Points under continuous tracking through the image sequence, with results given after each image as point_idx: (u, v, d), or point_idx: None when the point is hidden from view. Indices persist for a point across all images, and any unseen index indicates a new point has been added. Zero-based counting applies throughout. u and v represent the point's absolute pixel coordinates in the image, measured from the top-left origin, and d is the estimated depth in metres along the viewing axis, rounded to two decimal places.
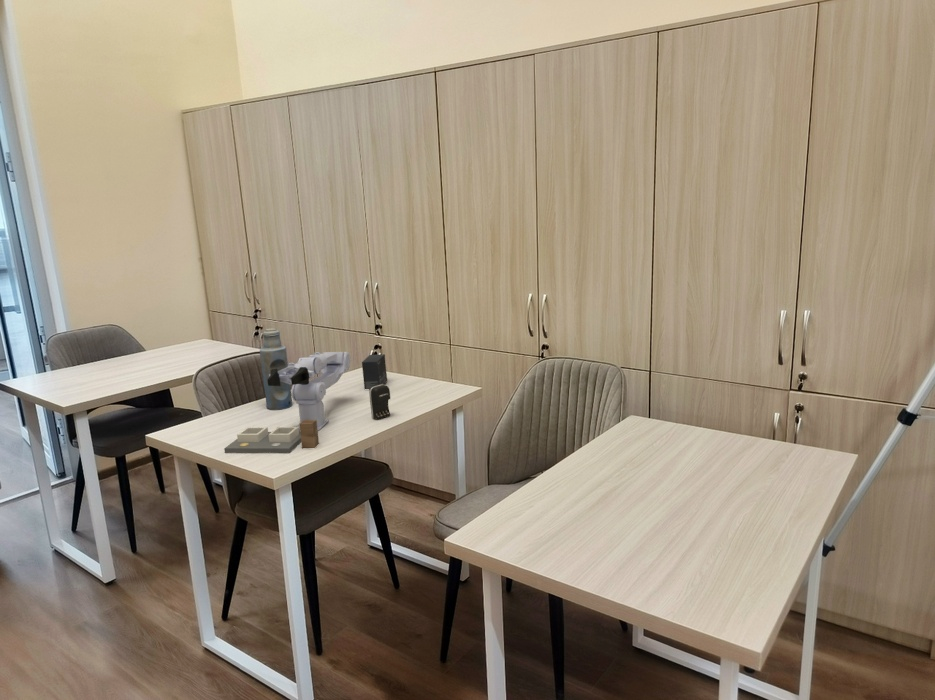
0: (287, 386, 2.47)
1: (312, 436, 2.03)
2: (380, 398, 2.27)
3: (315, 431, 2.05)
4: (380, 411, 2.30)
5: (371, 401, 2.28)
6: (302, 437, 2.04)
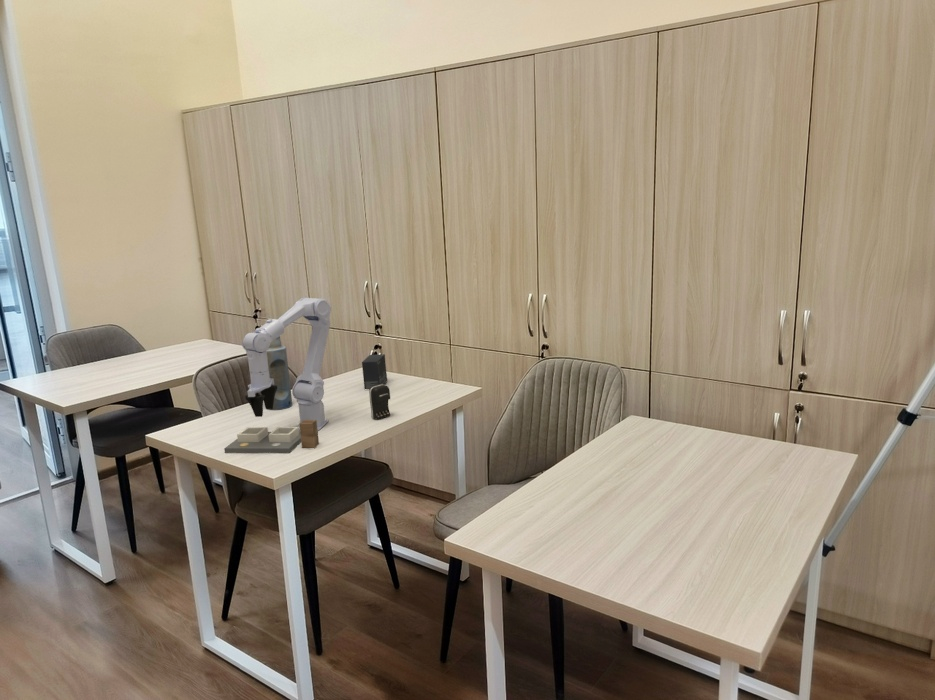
0: (287, 386, 2.47)
1: (312, 436, 2.03)
2: (380, 398, 2.27)
3: (314, 431, 2.05)
4: (380, 411, 2.30)
5: (371, 401, 2.28)
6: (302, 437, 2.04)
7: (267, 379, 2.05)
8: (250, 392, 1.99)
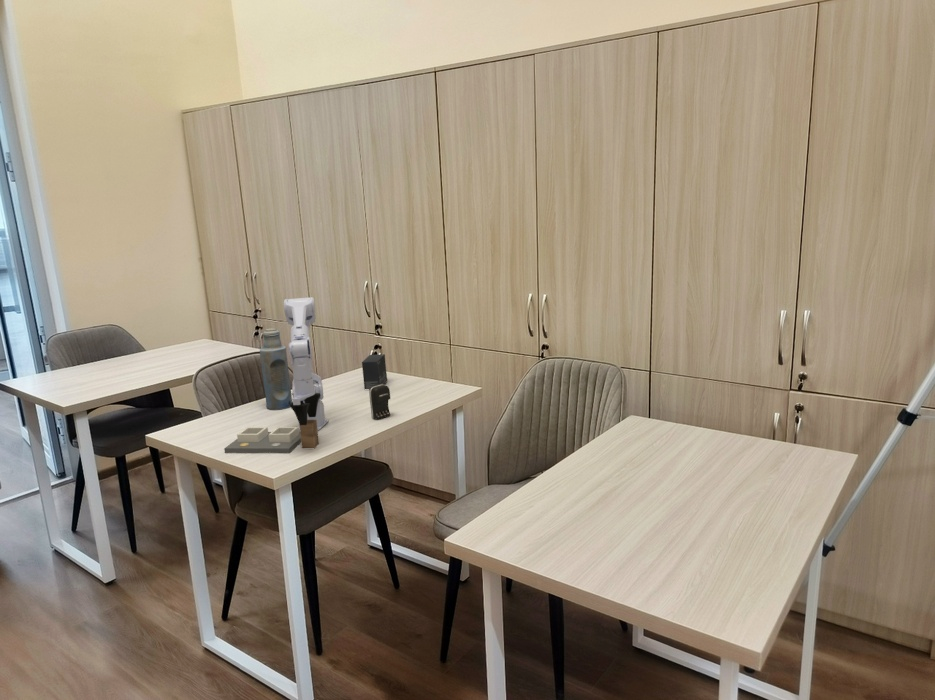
0: (287, 386, 2.47)
1: (312, 436, 2.03)
2: (380, 398, 2.27)
3: (314, 431, 2.05)
4: (380, 411, 2.30)
5: (371, 401, 2.28)
6: (302, 437, 2.04)
7: (311, 387, 2.01)
8: (295, 400, 1.95)
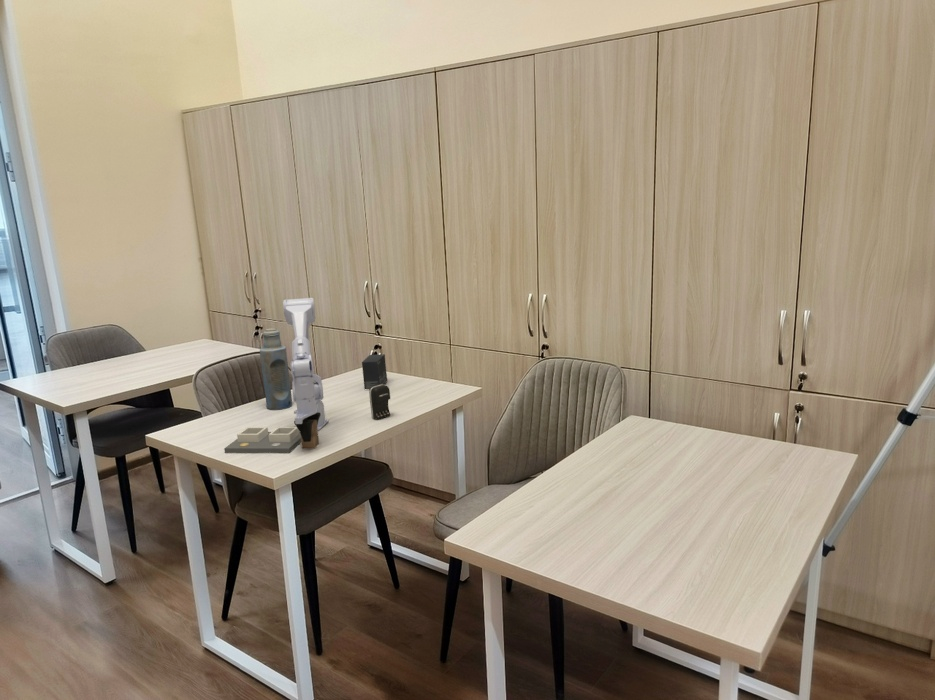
0: (287, 386, 2.47)
1: (312, 436, 2.03)
2: (380, 398, 2.27)
3: (314, 431, 2.05)
4: (380, 411, 2.30)
5: (371, 401, 2.28)
6: None
7: (313, 405, 2.02)
8: (297, 419, 1.97)
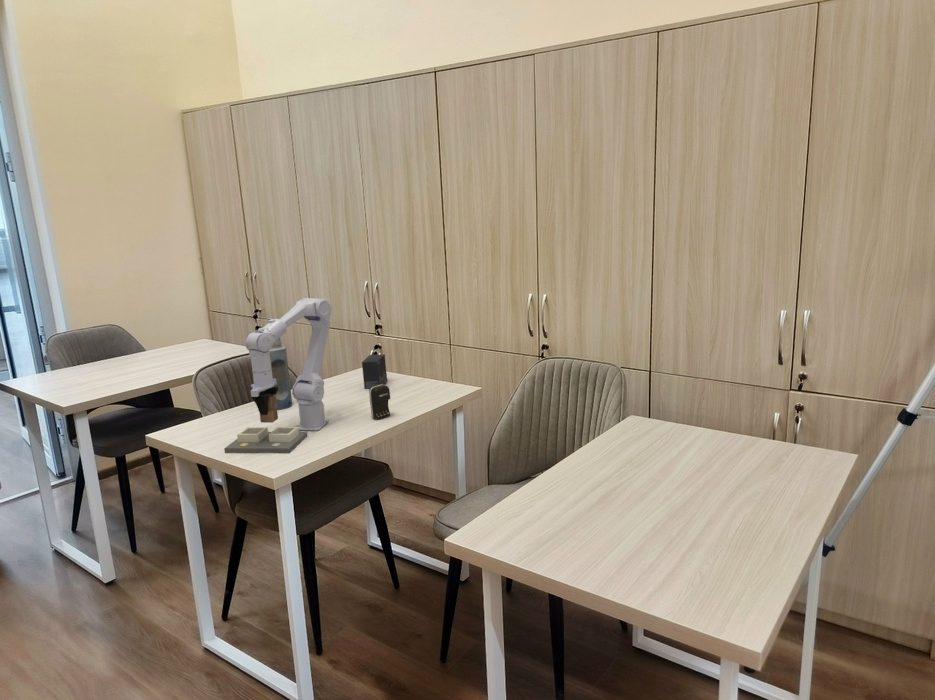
0: (287, 386, 2.47)
1: (270, 410, 2.05)
2: (380, 398, 2.27)
3: (273, 405, 2.07)
4: (380, 411, 2.30)
5: (371, 401, 2.28)
6: None
7: (270, 379, 2.04)
8: (253, 392, 1.99)
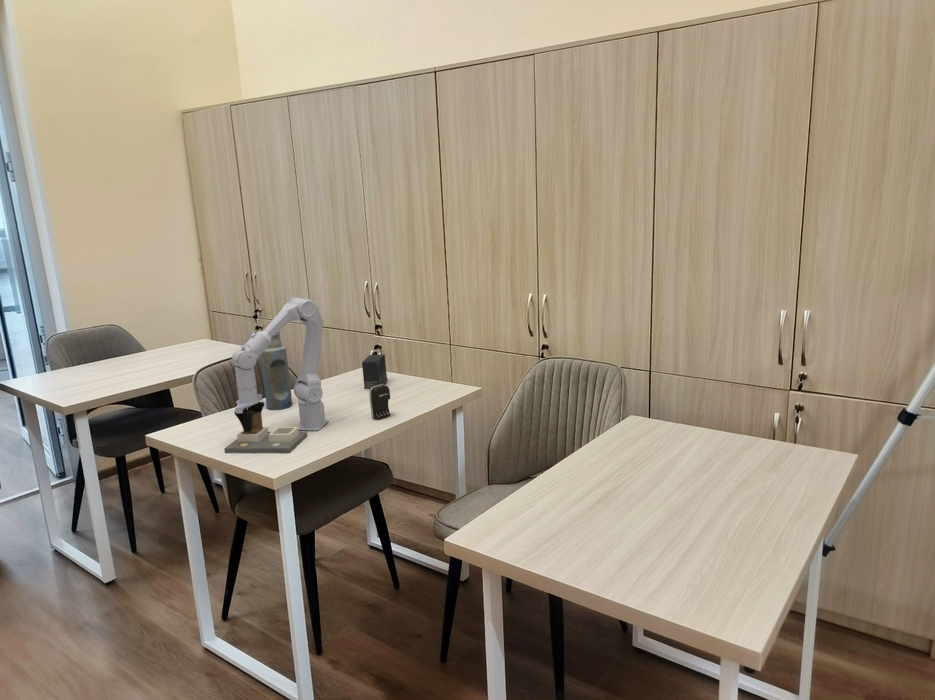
0: (287, 386, 2.47)
1: (256, 428, 2.09)
2: (380, 398, 2.27)
3: (259, 423, 2.10)
4: (380, 411, 2.30)
5: (371, 401, 2.28)
6: None
7: (255, 395, 2.07)
8: (238, 409, 2.02)
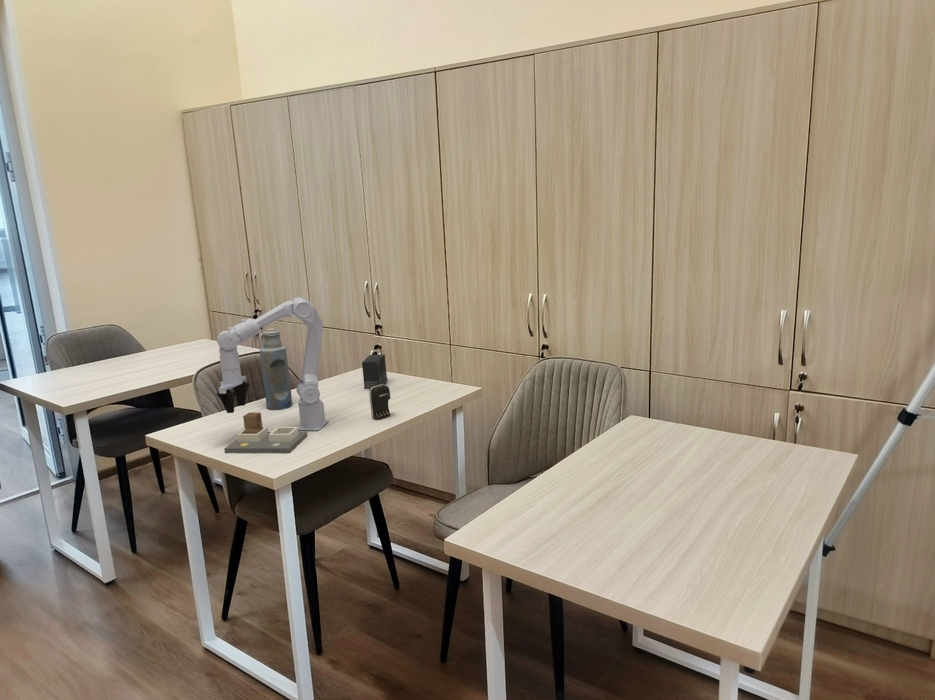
0: (287, 386, 2.47)
1: (255, 428, 2.09)
2: (380, 398, 2.27)
3: (258, 423, 2.10)
4: (380, 411, 2.30)
5: (371, 401, 2.28)
6: (246, 429, 2.09)
7: (238, 376, 2.10)
8: (221, 389, 2.05)
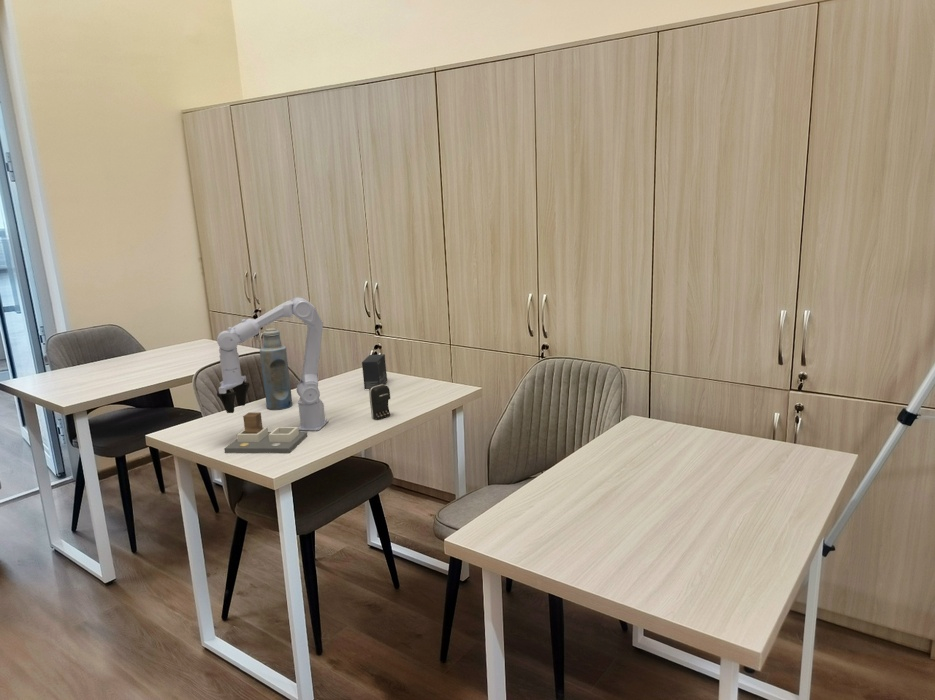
0: (287, 386, 2.47)
1: (255, 428, 2.09)
2: (380, 398, 2.27)
3: (258, 423, 2.10)
4: (380, 411, 2.30)
5: (371, 401, 2.28)
6: (246, 429, 2.09)
7: (238, 376, 2.10)
8: (221, 389, 2.05)
